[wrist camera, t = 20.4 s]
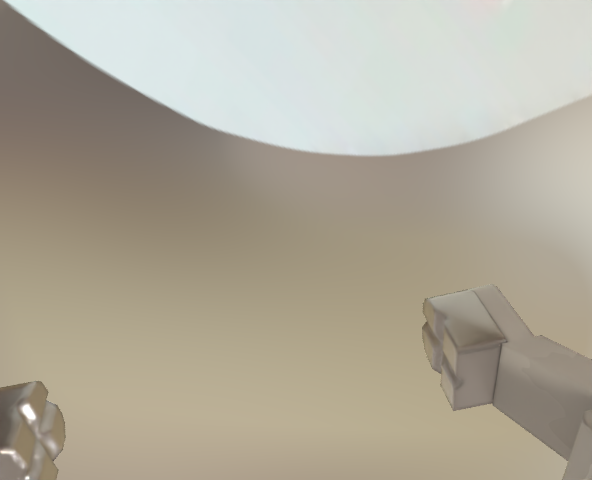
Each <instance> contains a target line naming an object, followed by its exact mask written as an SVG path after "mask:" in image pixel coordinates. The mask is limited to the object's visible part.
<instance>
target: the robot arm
mask: <svg viewBox="0 0 592 480" xmlns="http://www.w3.org/2000/svg"><path fill="white" fill-rule="evenodd" d="M423 314H424V315H425V318H426V320H427V322H426V323H425V324H424V326H423V327H422V336H423V343H424V349H425V352H426V355H427V358H428V360H429V362H430V365H431V367H432V369H434V370H435V371H437V372H438V373H440V374H441V387H442V389H443V391H444V393H445V395H446V397H447V399H448V401H449V403H450V405H451V407H452V409H453V411H455V410H460V409H466V408H471V407H476V406H480V405H485V404H491V403H493V406H494V407H496V408H497V409H499V410H500V411H501V412H502V413H504V414H505V415H507V416H508V417H509V418H511V419H512V420H513V421H515V422H516V423H517V424H519V425H520V426H521V427H523V428H524V429H525V430H527V431H528V432H529V433H531V434H532V435H534V436H535V437H536V438H538V439H539V440H540V441H542V442H543V443H544V444H546V445H547V446H548V447H550V448H551V449H553V450H554V451H555V452H556V453H558V454H559V455H560V456H562V457H563V458H564V459H566V460H567V461H568V463H567V467H566V469H565V473H564V476H563V479H562V480H592V359H589V358H587V357H585V356H583V355H581V354H579V353H577V352H575V351H573V350H571V349H569V348H567V347H565V346H563V345H561V344H559V343H557V342H554V341H552V340H550V339H548V338H546V337H544V336H542V335H540V336H534V335H533V334H532V332H531V331H530V330H529V329H528V327H527V326H526V324H525V323H524V322H523V320H522V319H521V318H520V316H519V315H518V314H517V312H516V311H515V310H514V308H513V307H512V306H511V305H510V303H509V302H508V301H507V299H506V298H505V297H504V295H503V294H502V293H501V291H500V290H499V289H498V287H497V286H495V285H493V284H490V285H486V286H481V287H477V288H472V289H469V290H463V291H458V292H454V293H449V294H445V295H440V296H436V297H431V298H427V299H425V300H424V303H423ZM47 395H48V390H47V389H46V388H45V386H44V385H43V383H42V382H40V381H34V382H28V383H23V384H17V385H12V386H7V387H1V388H0V480H56V478H57V474H58V469H57V467H56V465H55V464H54V462H53V461H54V460H55V459H56V457H57V456H58V455H59V454H60V453H61V451H62V450H63V447H64V441H65V422H64V419H63V415H62V412H61V411H60V409H59V408H58V406H57V405H56V404H53V403H51V402H49V401H47V400H46V398H47Z"/></svg>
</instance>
